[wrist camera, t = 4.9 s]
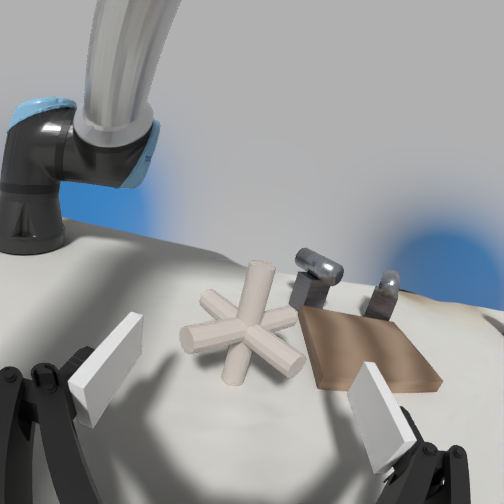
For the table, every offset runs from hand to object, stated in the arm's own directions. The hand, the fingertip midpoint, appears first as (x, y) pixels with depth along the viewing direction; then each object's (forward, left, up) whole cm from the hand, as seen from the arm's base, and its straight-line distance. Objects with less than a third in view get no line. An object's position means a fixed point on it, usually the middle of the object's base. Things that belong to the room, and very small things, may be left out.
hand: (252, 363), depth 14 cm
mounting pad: (+15, +13, -6) cm, 20 cm away
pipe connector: (0, +5, -6) cm, 8 cm away
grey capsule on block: (+9, +24, -6) cm, 26 cm away
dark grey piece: (+21, +24, -6) cm, 32 cm away
